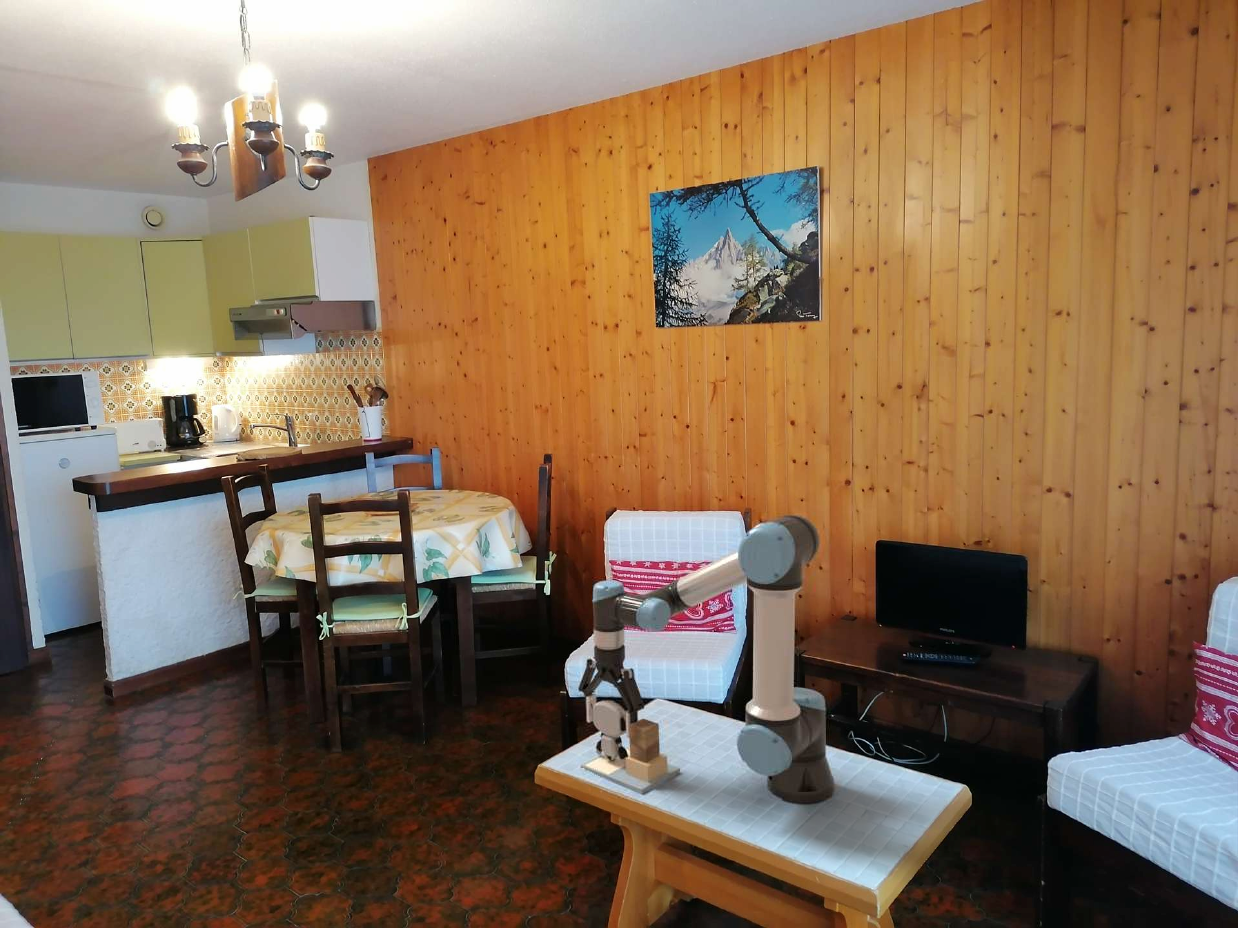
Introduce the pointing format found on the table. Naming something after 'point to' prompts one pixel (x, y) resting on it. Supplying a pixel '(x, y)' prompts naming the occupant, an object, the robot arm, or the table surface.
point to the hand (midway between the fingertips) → (611, 727)
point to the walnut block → (644, 740)
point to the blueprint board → (632, 780)
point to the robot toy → (610, 729)
